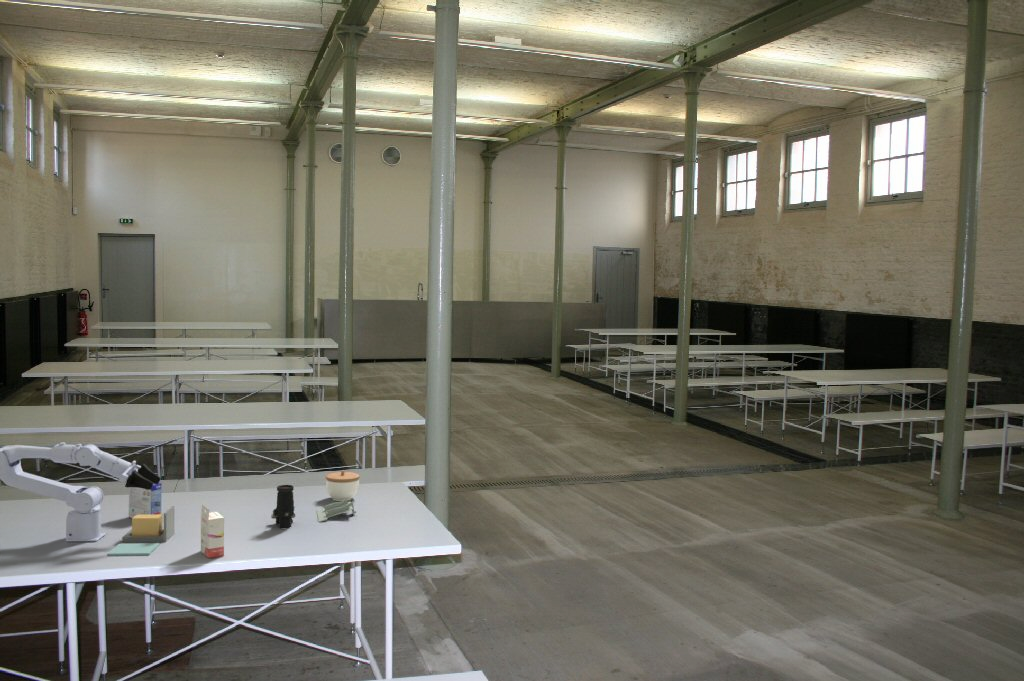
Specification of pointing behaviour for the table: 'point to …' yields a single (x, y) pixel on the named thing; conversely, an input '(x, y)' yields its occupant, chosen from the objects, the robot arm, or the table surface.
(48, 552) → the table surface
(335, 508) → the metal bracket
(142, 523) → the orange rectangular block
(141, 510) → the ink cartridge box
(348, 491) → the lidded bowl
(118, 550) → the teal pad
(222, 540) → the ink cartridge box
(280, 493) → the scope
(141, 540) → the grey angular piece
